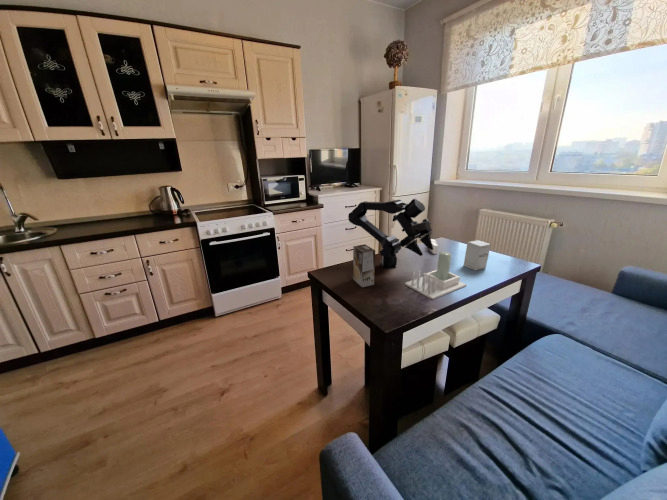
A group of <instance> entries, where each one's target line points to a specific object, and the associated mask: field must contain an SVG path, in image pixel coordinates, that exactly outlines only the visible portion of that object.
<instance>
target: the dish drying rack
mask: <svg viewBox="0 0 667 500" xmlns="http://www.w3.org/2000/svg"><path fill="white" fill-rule="evenodd" d="M415 273H416V272H415V271H412V277H411V280H409V281H406V282H404V285H405V286H407V287H408V288H410V289H412V290H414V291H416V292H418V293H419V294H421V295H423V296H425V297H427V298H428V299H431V300H435V299H437V298H440V297H442V296H445V295H448V294H450V293H452V292H455V291H458V290H460V289H462V288H465V287H467V284H466V283H464V282H463V281H460V278H461V276H459V275H457V274H454V273H452V272H451V271H449V275H448V280H445V281H443V280H441V279H439V278H437V277H436V274H437V269H435V270H433V271H429V272H423V274H422V276H421V274H420V273H421V271H420V269H417V275H416V276H417V277H416V278H415Z"/></svg>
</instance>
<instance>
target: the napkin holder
mask: <svg viewBox="0 0 667 500" xmlns="http://www.w3.org/2000/svg"><path fill="white" fill-rule="evenodd" d="M430 239H431V243H432V246H433V250H430V249H429V248H428V249H429V250H428V251H430V252H431V254H432V255H435V254H436V255H437V254H439V252H438V251H439V244H437V241H436V240H435V239H434V238H430Z"/></svg>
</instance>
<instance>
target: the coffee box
mask: <svg viewBox="0 0 667 500" xmlns="http://www.w3.org/2000/svg"><path fill="white" fill-rule="evenodd" d="M352 248H353V249H352V257H353V258H352V259H353V260H352V263H353V264H352V279H353V281H354V282H355V283H356V284H358V285H359V287H361V288H365V287H370V286H374V285H375V269H376V268H375V266H376V250H375V249H374V248H372V247H370V246H369V245H367V244H365V243H364V244H357V245H354V246H353V247H352Z"/></svg>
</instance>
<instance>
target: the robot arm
mask: <svg viewBox="0 0 667 500" xmlns="http://www.w3.org/2000/svg"><path fill="white" fill-rule="evenodd" d="M368 211H383V212H385V213H387V214H391V215H393V217H392V222H396V221H397V222H398V223H399V225H400V226H401V228H402V229H401V231H402V233H405V234H406V237H404V238H402V239H401V240H400V239H399V238H397V237H396V236H395V235H394V234H392V235H387V234H386V233H384V232H383V231H382V230H381V229H380V228H378V227H377V226H376V225H374V223H372V222H371V221H370V220H368V217H367V215H366V214H367V213H368ZM424 211H426V207H425V205H424V203H422V202H421V201H420V200H418V199H417V198H413V199H412V200H410V202H408V203H405V202H403V200H401V199H395V200H389V201H361V202H360V203H358V204H357V206H355V208H354V209H353V210H352V211H351V212H349V214H348V216H347V218H348V222H349V223H351V224H352V225H355V226H358V227H360V228H362V229H363V230H364V231H365V232H366V233H368V234H369V235H370V236H371V237H373V238H374V239H375V240H376V241H377V242H379V243H380V245H381V248H382V249H381V250H380V251H379V254H380V256H381V258H382V259H381V262H380V264H381V266H382V267H383V269H396V268H397V264H398V263H397V262H398V257H397V254H398V253H399V251H400V250H402V248H405V249H408V250H409V251H411V252H413V253H415V254H417V255H418V256H420V257H422V256H423V255H424V254H423V252H422V250H421V249H420V247H419V245H418V239H419V241H420V242H421V243H422V244H424V246H426V247H427V248H428V249H430V250H433V246H432V243H431V239H432V238H431V235H432V234H433V233H432V231H433V230H432V228H431V225H432V221H430V220H431V219H429V218H424V219H422V221H421V222H418V221H417V220H416V221H415V220H413V219H416V218H417V217H418V216H419V215H420V214H422V213H423V212H424ZM430 250H429V251H430Z"/></svg>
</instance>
